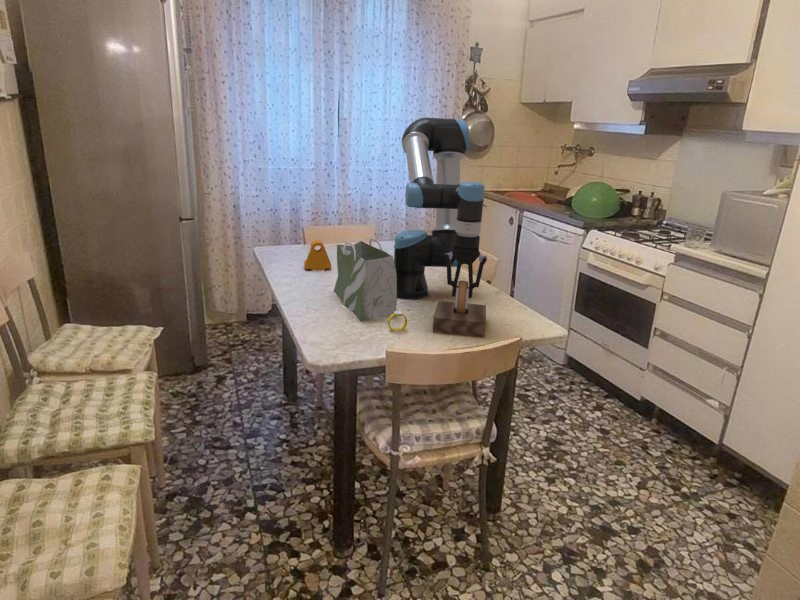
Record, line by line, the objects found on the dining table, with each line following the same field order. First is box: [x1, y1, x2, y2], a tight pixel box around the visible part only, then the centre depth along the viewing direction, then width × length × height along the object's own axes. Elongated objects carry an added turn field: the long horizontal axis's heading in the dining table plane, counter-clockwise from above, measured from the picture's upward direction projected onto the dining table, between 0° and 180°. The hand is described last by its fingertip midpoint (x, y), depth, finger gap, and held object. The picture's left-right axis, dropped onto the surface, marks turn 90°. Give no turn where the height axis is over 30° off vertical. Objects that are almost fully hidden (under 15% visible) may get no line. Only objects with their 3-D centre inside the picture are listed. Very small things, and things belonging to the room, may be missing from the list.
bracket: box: [303, 239, 332, 271], centre depth 223 cm, size 11×7×12 cm, turn 104°
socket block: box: [431, 300, 487, 338], centre depth 169 cm, size 16×16×5 cm
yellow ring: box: [387, 310, 408, 332], centre depth 164 cm, size 6×3×6 cm, turn 105°
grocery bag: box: [333, 237, 398, 323], centre depth 182 cm, size 32×14×23 cm, turn 24°
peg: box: [456, 280, 469, 314], centre depth 167 cm, size 3×3×12 cm
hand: (461, 306), depth 168 cm, fingers closed on peg, 2 cm apart
